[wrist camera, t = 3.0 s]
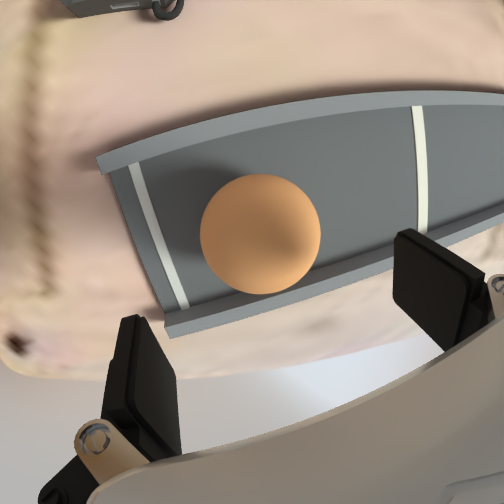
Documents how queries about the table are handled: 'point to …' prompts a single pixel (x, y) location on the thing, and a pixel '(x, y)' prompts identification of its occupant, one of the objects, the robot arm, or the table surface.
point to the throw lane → (313, 188)
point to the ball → (260, 234)
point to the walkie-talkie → (122, 7)
